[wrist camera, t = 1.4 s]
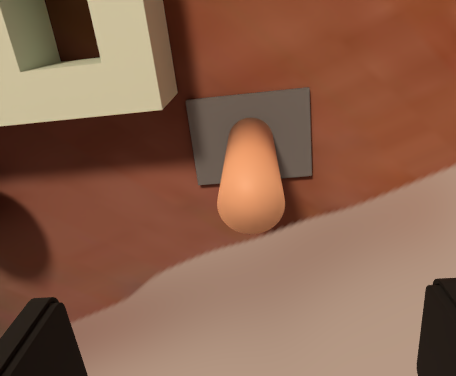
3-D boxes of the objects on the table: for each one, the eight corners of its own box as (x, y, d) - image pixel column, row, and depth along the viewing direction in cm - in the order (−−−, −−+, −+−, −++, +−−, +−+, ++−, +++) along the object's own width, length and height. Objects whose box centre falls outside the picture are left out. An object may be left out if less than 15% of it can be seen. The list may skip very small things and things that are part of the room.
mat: (308, 87, 26) (309, 88, 25) (311, 173, 28) (312, 175, 28) (186, 99, 26) (185, 101, 26) (199, 183, 29) (198, 185, 28)
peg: (271, 115, 26) (283, 170, 17) (274, 158, 27) (286, 231, 18) (226, 119, 26) (213, 176, 17) (230, 162, 27) (221, 236, 18)
